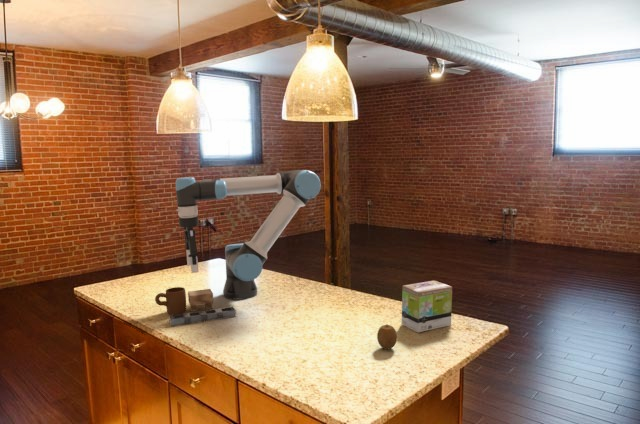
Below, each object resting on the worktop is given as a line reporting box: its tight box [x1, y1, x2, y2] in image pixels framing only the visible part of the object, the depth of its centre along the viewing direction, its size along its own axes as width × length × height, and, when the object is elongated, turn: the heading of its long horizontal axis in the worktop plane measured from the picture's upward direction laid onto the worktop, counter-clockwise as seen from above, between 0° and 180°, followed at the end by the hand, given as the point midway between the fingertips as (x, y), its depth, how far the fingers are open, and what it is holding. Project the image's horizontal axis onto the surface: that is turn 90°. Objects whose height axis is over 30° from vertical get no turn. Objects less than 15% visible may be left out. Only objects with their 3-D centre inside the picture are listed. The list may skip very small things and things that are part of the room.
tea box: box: [401, 280, 453, 334], centre depth 168 cm, size 15×10×15 cm
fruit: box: [376, 324, 398, 350], centre depth 149 cm, size 6×6×8 cm
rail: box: [169, 306, 237, 327], centre depth 180 cm, size 24×5×3 cm, turn 112°
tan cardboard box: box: [187, 288, 214, 312], centre depth 192 cm, size 9×7×7 cm
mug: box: [154, 286, 187, 316], centre depth 187 cm, size 12×8×9 cm, turn 128°
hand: (192, 268), depth 189 cm, fingers open, 13 cm apart
